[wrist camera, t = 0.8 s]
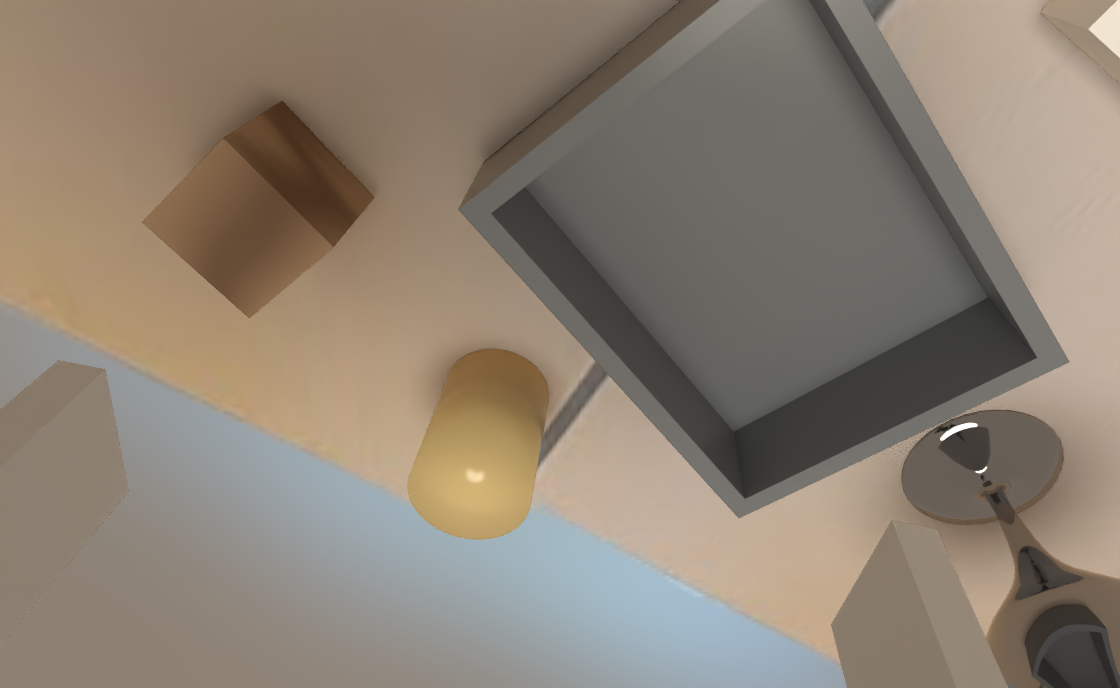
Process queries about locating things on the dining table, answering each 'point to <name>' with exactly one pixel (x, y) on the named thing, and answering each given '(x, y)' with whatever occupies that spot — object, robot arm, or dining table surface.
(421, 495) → the ochre canister
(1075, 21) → the bracket
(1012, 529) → the wine glass
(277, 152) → the walnut cube
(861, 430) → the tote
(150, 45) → the dining table surface
